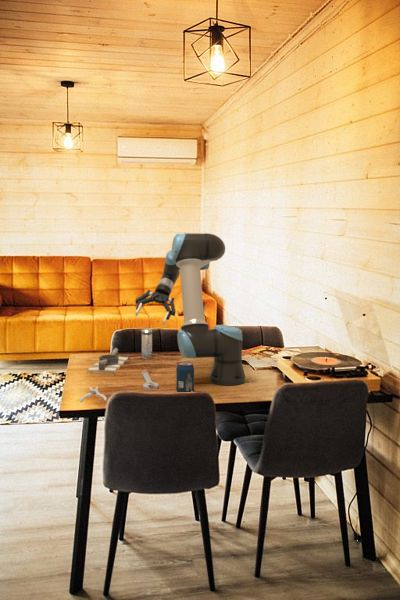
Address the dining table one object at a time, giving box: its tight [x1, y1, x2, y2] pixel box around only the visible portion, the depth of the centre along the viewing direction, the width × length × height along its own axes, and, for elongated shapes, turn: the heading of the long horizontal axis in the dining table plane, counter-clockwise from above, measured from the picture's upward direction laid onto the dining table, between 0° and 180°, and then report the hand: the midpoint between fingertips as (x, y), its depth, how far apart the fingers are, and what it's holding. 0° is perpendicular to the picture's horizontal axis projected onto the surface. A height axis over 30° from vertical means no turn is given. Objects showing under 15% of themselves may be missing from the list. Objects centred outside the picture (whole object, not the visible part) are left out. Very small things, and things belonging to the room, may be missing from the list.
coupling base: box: [86, 347, 130, 375], centre depth 265 cm, size 26×12×5 cm, turn 173°
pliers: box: [79, 386, 107, 403], centre depth 222 cm, size 10×2×15 cm
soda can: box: [175, 361, 195, 393], centre depth 225 cm, size 7×7×12 cm
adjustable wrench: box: [141, 370, 159, 392], centre depth 241 cm, size 25×6×2 cm, turn 8°
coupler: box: [140, 327, 153, 360], centre depth 279 cm, size 5×5×14 cm
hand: (149, 318), depth 272 cm, fingers open, 13 cm apart
